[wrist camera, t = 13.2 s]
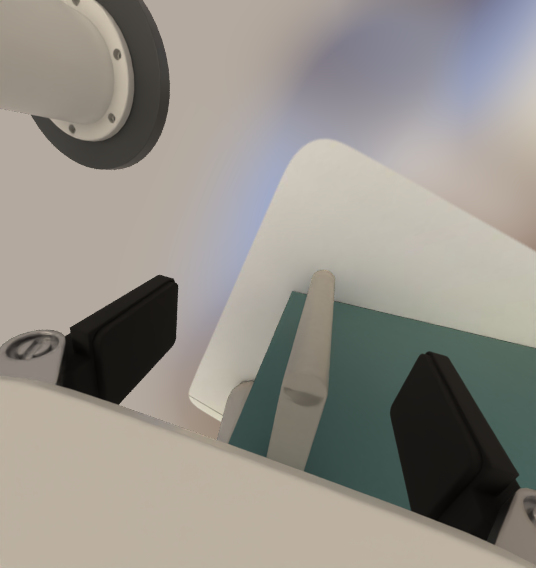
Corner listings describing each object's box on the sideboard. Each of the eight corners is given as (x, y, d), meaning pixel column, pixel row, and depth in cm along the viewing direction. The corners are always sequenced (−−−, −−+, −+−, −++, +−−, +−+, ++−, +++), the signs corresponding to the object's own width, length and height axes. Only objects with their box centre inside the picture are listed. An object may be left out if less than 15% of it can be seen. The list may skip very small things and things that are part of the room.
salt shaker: (279, 395, 38) (252, 492, 27) (255, 412, 41) (221, 508, 29) (249, 369, 38) (207, 456, 26) (226, 388, 40) (180, 475, 29)
